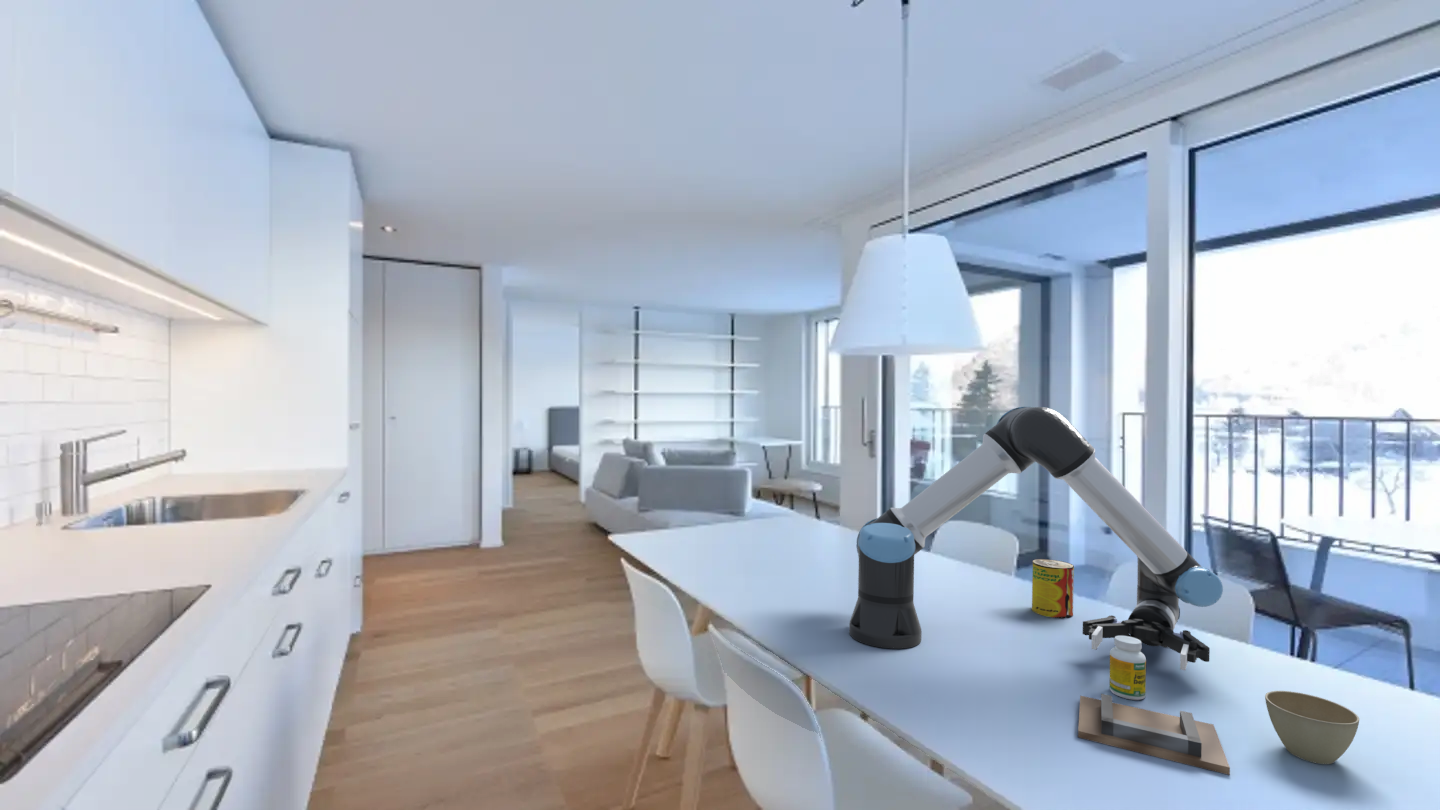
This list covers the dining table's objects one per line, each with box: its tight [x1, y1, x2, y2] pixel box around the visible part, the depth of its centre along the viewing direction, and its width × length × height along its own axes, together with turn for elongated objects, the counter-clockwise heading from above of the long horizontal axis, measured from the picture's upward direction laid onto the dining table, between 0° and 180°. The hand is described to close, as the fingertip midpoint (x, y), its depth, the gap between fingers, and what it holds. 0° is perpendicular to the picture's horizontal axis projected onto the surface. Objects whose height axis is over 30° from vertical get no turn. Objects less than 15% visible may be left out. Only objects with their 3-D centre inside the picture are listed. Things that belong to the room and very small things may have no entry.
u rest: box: [1077, 693, 1231, 776], centre depth 97 cm, size 18×14×3 cm
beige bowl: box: [1264, 690, 1360, 765], centre depth 92 cm, size 10×10×7 cm
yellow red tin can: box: [1031, 558, 1075, 619], centre depth 156 cm, size 9×9×12 cm
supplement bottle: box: [1109, 636, 1147, 701], centre depth 111 cm, size 5×5×10 cm
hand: (1136, 651), depth 115 cm, fingers open, 13 cm apart
